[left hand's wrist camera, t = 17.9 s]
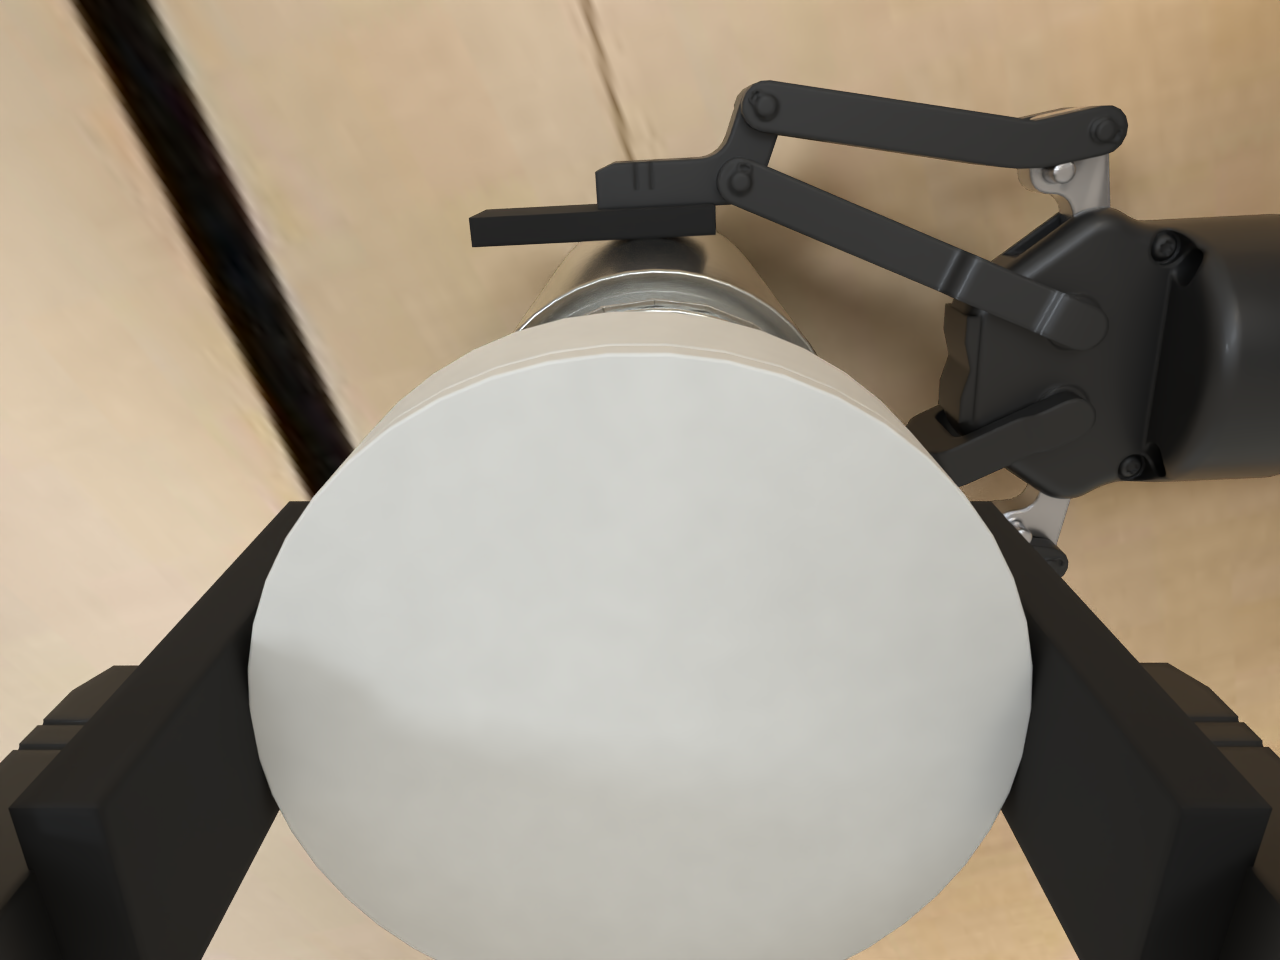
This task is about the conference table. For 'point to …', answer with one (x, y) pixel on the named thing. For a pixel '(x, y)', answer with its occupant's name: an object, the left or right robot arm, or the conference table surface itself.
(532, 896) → the lid
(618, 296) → the jar
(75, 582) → the conference table surface
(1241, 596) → the conference table surface
